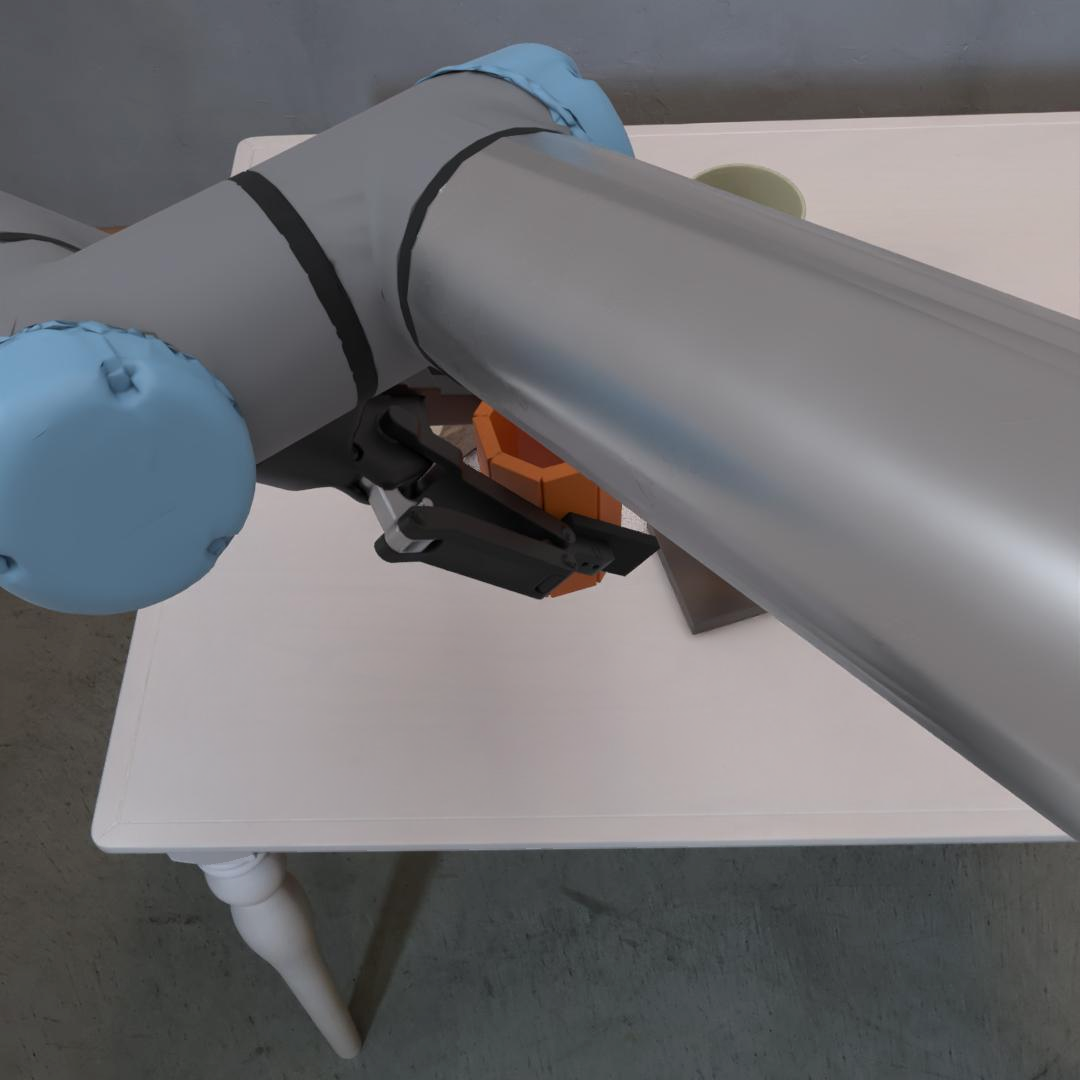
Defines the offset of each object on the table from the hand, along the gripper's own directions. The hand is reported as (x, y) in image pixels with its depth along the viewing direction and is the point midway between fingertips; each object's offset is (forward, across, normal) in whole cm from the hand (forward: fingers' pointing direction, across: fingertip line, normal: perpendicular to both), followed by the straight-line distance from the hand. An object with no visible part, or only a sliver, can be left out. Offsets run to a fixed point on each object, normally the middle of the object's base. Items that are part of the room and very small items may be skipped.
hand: (616, 500), depth 61 cm
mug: (+23, -24, 0) cm, 33 cm away
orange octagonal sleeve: (-1, 0, -4) cm, 4 cm away
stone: (+8, -20, -16) cm, 26 cm away
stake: (+18, -3, -5) cm, 19 cm away
